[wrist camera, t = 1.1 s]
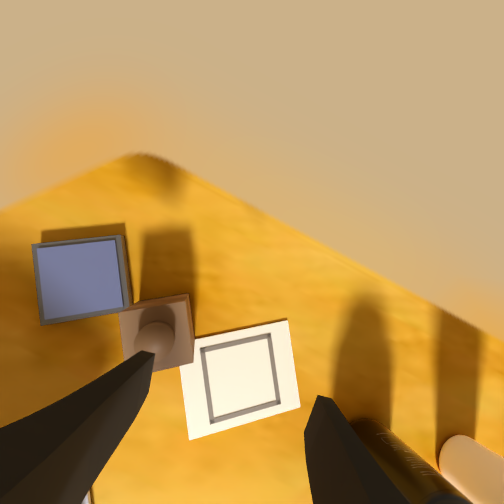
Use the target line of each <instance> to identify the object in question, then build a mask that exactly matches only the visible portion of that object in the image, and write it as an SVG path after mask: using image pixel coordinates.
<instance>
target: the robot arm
mask: <svg viewBox="0 0 504 504" xmlns="http://www.w3.org/2000/svg"><path fill="white" fill-rule="evenodd" d="M154 359H155V353H151V352H147V351H143V350H141V351H139V352H138V353H136V354H135V355H133V356H132V357H130V358H129V359H127V360H126V361H124V362H123V363H121V364H119V365H118V366H116V367H115V368H113V369H112V370H110V371H109V372H107V373H105V374H104V375H102V376H101V377H99V378H97V379H96V380H94V381H92V382H91V383H89V384H87V385H86V386H84V387H82V388H80V389H79V390H77V391H75V392H73V393H72V394H70V395H68V396H66V397H65V398H63V399H61V400H59V401H57V402H55V403H53V404H51V405H49V406H47V407H45V408H43V409H41V410H39V411H37V412H35V413H33V414H31V415H29V416H27V417H25V418H23V419H20V420H18V421H16V422H13V423H11V424H9V425H7V426H4V427H2V428H0V504H91V499H90V488H91V486H92V485H93V483H94V481H95V480H96V478H97V477H98V475H99V474H100V472H101V471H102V469H103V468H104V466H105V465H106V463H107V461H108V460H109V458H110V457H111V455H112V454H113V452H114V451H115V449H116V448H117V446H118V444H119V443H120V441H121V440H122V438H123V437H124V435H125V434H126V432H127V431H128V429H129V427H130V426H131V424H132V423H133V421H134V420H135V418H136V416H137V414H138V412H139V410H140V408H141V406H142V405H143V403H144V401H145V399H146V397H147V395H148V392H149V387H150V381H151V376H152V370H153V364H154ZM304 441H305V455H306V465H307V471H308V477H309V483H310V488H311V494H312V500H313V504H410V503H409V502H408V501H407V500H406V498H405V497H404V496H403V495H402V494H401V492H400V491H399V490H398V489H397V488H396V486H395V485H394V484H393V483H392V481H391V480H390V479H389V477H388V476H387V475H386V474H385V472H384V471H383V470H382V468H381V467H380V466H379V465H378V463H377V462H376V461H375V459H374V458H373V457H372V455H371V454H370V452H369V451H368V450H367V448H366V447H365V446H364V444H363V443H362V441H361V440H360V439H359V437H358V436H357V434H356V433H355V431H354V430H353V429H352V427H351V426H350V424H349V423H348V421H347V420H346V418H345V417H344V415H343V414H342V413H341V411H340V410H339V408H338V407H337V405H336V404H335V403H334V401H333V400H332V398H328V397H324V396H320V395H318V396H317V398H316V401H315V404H314V407H313V409H312V412H311V415H310V417H309V420H308V423H307V426H306V428H305V431H304Z"/></svg>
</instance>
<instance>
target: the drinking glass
mask: <svg viewBox="0 0 504 504" xmlns="http://www.w3.org/2000/svg"><path fill="white" fill-rule="evenodd" d="M439 468H440V472H441V475H442V476H443V477H444V478H445V479H446V480H448V481H449V482H450V483H451V484H452V485H453V486H454V487H456V488H457V489H458V490H459V491H460V492H461V493H462V494H464V495H465V496H466V497H467V498H468V499H469V500H470V501H471V502H472V503H473V504H504V457H503V456H501V455H499V454H497V453H495V452H494V451H492V450H490V449H488V448H487V447H485V446H484V445H482V444H480V443H479V442H477V441H476V440H474V439H472V438H470V437H468V436H465V435H455V436H452V437H451V438H449V439H448V440H447V441H446V442H445V443H444V445H443V447H442V449H441V451H440V455H439Z"/></svg>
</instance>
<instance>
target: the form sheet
mask: <svg viewBox="0 0 504 504" xmlns="http://www.w3.org/2000/svg"><path fill="white" fill-rule="evenodd" d="M180 373H181V381H182V388H183V396H184V404H185V411H186V419H187V426H188V434H189V440H192V439H196V438H199V437H202V436H206V435H209V434H212V433H216V432H219V431H222V430H226V429H229V428H232V427H236V426H239V425H242V424H246V423H249V422H252V421H256V420H259V419H262V418H266V417H269V416H272V415H276V414H279V413H282V412H286V411H289V410H292V409H295V408H299V407H300V401H299V394H298V387H297V380H296V373H295V367H294V360H293V353H292V346H291V339H290V333H289V326H288V320H285V321H280V322H275V323H270V324H266V325H261V326H256V327H251V328H246V329H242V330H237V331H232V332H227V333H222V334H218V335H213V336H208V337H203V338H199V339H195V346H194V362H193V363H190V364H186V365H182V366H180Z"/></svg>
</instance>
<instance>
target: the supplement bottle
mask: <svg viewBox="0 0 504 504" xmlns="http://www.w3.org/2000/svg"><path fill="white" fill-rule="evenodd" d="M350 426H351V427H352V429H353V430H354V431H355V433H356V434H357V436H358V437H359V439H360V440H361V441H362V443H363V444H364V446H365V447H366V448H367V450H368V451H369V452H370V454H371V455H372V457H373V458H374V459H375V461H376V462H377V463H378V465H379V466H380V467H381V468H382V470H383V471H384V472H385V474H386V475H387V476H388V477H389V479H390V480H391V481H392V483H393V484H394V485H395V486H396V488H397V489H398V490H399V491H400V492H401V494H402V495H403V496H404V497H405V498H406V500H407V501H408V502H409V503H410V504H473V503H472V502H471V501H470V500H469V499H468V498H467V497H466V496H465V495H464V494H462V493H461V492H460V491H459V490H458V489H457V488H456V487H454V486H453V485H452V484H451V483H450V482H449V481H448V480H446V479H445V478H444V477H443V476H442V475H441V474H440V473H438V472H437V471H436V470H435V469H434V468H433V467H432V466H430V465H429V464H428V463H427V462H426V461H425V460H424V459H422V458H421V457H420V456H419V455H418V454H417V453H415V452H414V451H413V450H412V449H411V448H410V447H409V446H407V445H406V444H405V443H404V442H403V441H402V440H401V439H399V438H398V437H397V436H396V435H395V434H394V433H393V432H391V431H390V430H389V429H388V428H387V427H385V426H384V425H383V424H381V423H380V422H378V421H376V420H372V419H360V420H356V421H354V422H352V423H350Z"/></svg>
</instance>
